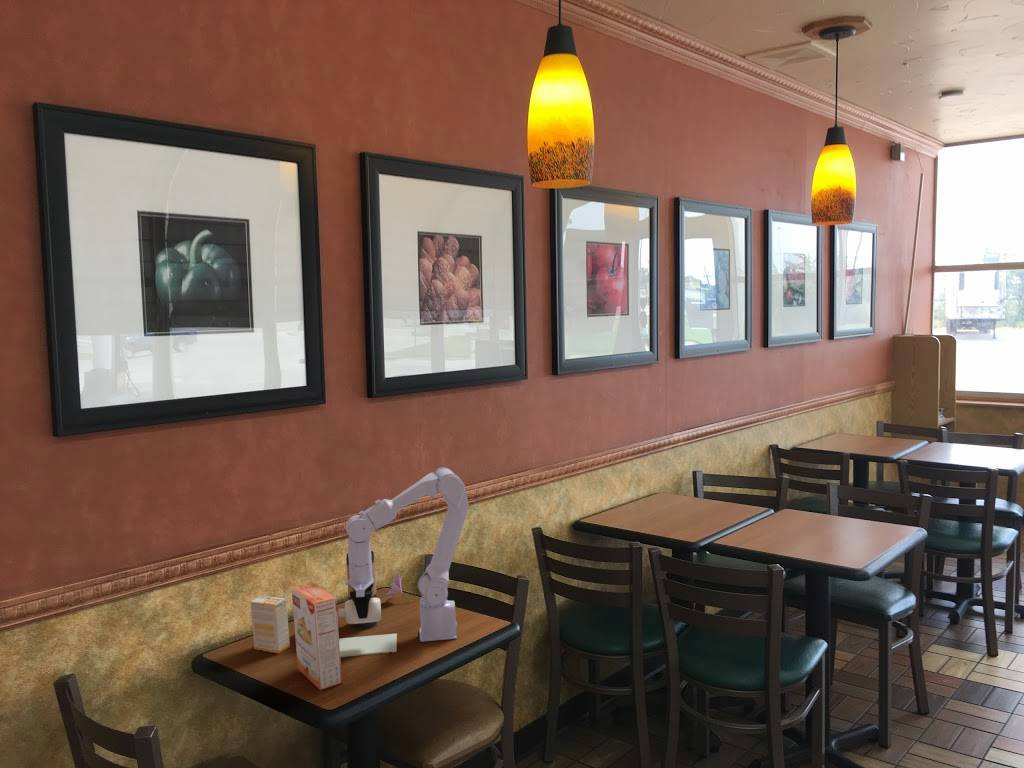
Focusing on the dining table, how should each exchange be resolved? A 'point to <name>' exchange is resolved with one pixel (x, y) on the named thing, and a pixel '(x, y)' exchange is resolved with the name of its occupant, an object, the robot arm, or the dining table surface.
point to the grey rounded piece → (352, 615)
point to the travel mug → (374, 594)
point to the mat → (368, 645)
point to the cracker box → (317, 635)
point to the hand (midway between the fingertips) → (363, 614)
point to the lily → (396, 587)
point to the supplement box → (270, 624)
